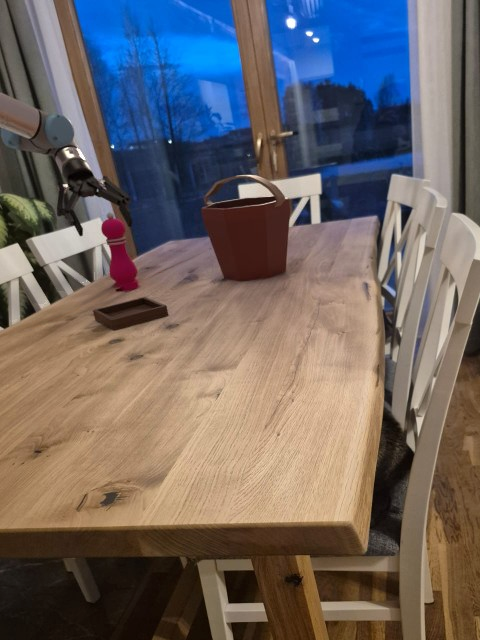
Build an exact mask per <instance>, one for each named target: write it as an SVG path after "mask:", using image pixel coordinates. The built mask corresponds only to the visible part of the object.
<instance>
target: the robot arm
mask: <svg viewBox="0 0 480 640" xmlns="http://www.w3.org/2000/svg"><path fill="white" fill-rule="evenodd" d="M0 137H1V140H2V142H3V144H4V145H5V146H6V147H7V148H10V149H15V150H17V151H24V152H31V153H34V154H35V153H36V154H41V155H46V156H51V157H52V158H53V160H54V161H55V163H56V165H57V167H58V170H59V171H60V173H61V174H62V177H63V179H64V180H65V182H66V183H63V182H61V181H58V182H57V192H58V197H57V203H56V216H57V217H62V216H63V217H64V219H65V220H67V221H68V224H69V225H70V226H74V228H75V230H76V232H77V233H78V235H79V237H83V235H84V229H83V226H82V224H81V223H80V219H79V218H78V217H77V214H76V213H75V210H74V208H75V207H76V204H77V202H78V201H79V199H80V198H82V199H83V198H84V199H86V198H88V197H91V198H92V197H97V198H101V199H104V200H105V201H108V202H109V203H112V204H114V205H115V206H118V210H119V212H120V214H121V216H122V217H123V219H124V222H125V223H126V225H127V226H128V228H131V227H132V225H133V218H132V216H131V209H130V207H129V206H130V204H131V198H132V197H131V196H130V195H129V194H128V193H127V192H126V191H124V190H123V189H121V188H120V187H119V186H117V185H116V184H114V183H113V182H112V181H111V180H110V178H108V176H107V175H102V178H99V179H98V178H97V177H95V175H94V173H93V171H92V168H91V167H90V165H89V163H88V162H87V160H86V158H85V156H84V154H83V152H82V151H81V149H80V147H79V145H78V143H77V141H76V139H75V128H74V125H73V123H72V121H71V120H70V119H69V117H67V116H65V115H64V114H61V113H48V112H46V111H44V110H41V109H38V108H36V107H34V106H32V105H29V104H27V103H25V102H22V101H21V100H18V99H16V98H14V97H12V96H10V95H8V94H6V93H4V92H1V91H0ZM67 190H68V191H69V192H71V195H70V197H69V199H68V201H67V203H66V205H65V207H64V201H65V194H66V193H67Z"/></svg>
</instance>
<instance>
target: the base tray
mask: <svg viewBox="0 0 480 640" xmlns="http://www.w3.org/2000/svg"><path fill="white" fill-rule="evenodd" d="M92 313H93V317H94V319H95V321H97V322H98V323H100V324H102V325H103V326H105V327H107V328H109V329H111V330H112V331H117V330H121V329H124V328H129V327H132V326H135V325H138V324H142V323H143V324H144V323H146V322H150V321H154V320H159V319H160V318H164V317H168V316H169V311H168V306H167V305H166V304H164V303H161V302H159V301H156V300H154V299H151V298H149V297H147V296H143V297H139V298H135V299H131V300H126V301H123V302H119V303H115V304H111V305H107V306H104V307H99V308H94V309H92Z"/></svg>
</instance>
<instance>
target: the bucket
mask: <svg viewBox="0 0 480 640" xmlns="http://www.w3.org/2000/svg"><path fill="white" fill-rule="evenodd" d="M237 179H248V180H251V181H252V182H256V183H257V184H258V185H259V184H260V185H261V186H263V187H264V188H265V189H267V190H268V191H269V192H270V194H271V195H265V196H251V197H242V198H235V199H229V200H223V201H217V202H212V201H211V200H210V198H211V197H213V196H214V195H216V194H218V192H219V191H220V190H221V189H222V187H223V185H225V184H226V183H229V182H231V181H233V180H237ZM203 201H204V205H205V206H202V207H201V208H200V210H201V218H202V221H203V224H204V227H205V230H206V232H207V235H208V238H209V241H210V244H211V246H212V249H213V253H214V254H215V257H216V260H217V263H218V265H219V268H220V271H221V273H222V277H223V278H224V279H227V280H232V281H238V282H243V281H252V280H253V281H254V280H263V279H270V278H271V277H274V276H277V275H279V274H282V273H284V272H286V271H287V258H288V247H289V246H288V245H289V244H288V243H289V242H288V241H289V232H290V231H289V230H290V219H291V206H290V198H289V197H287V196H285V195H284V193H283V192H282V190H280V188H279V187H278V186H277V185H276V184H274V183H273V182H271V181H270V180H268V179H266V178H264V177H262V176H259V175H256V174H241V175H234V176H230V177H227V178H223V179H221V180H218V181H215V182H214V184H213V185H212V186H211V188H210V189H209V191H207V193H206V194H205V195H204V196H203Z"/></svg>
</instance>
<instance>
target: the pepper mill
mask: <svg viewBox="0 0 480 640" xmlns="http://www.w3.org/2000/svg"><path fill="white" fill-rule="evenodd" d="M106 218H107V219H105V220H104V221H103V222H102V223H101V227H100V229H101V230H100V231H101V233H102V235H103V236H104V237H105V238H106V239H105V241H106V245H107V246H108V247H109V250H110V251H109V252H110V263H109V277H110V279H112V280H113V281H114V282H115V283H114V287H115V288H116V289H115V291H116V292H128V291H133V290H137V289H138V288H139V286H140V285H139V280H138V279H136V277H137V276H138V268H137V266H136V264H135V262H134V261H133V259H131V256H130V255H129V253H128V250H127V247H126V242H127V240H126V236H124V235H125V233H126V226H125V224H124V222H123V220H121V219H118V218H116V217H115V215H114V213H113V212H111V211H109V212H107V213H106Z"/></svg>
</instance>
